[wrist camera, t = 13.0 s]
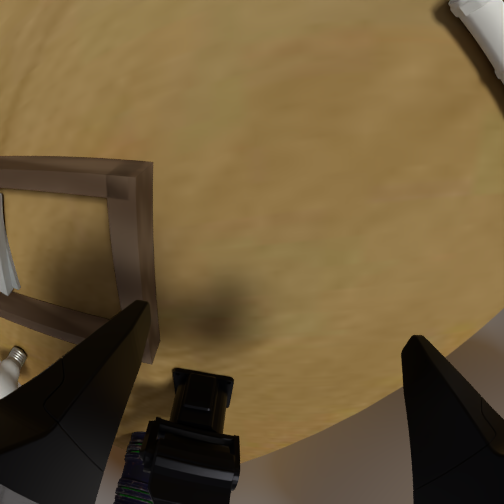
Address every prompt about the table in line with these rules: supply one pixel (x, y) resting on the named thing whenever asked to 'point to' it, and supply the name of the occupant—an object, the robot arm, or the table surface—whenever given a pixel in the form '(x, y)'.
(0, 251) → the offcut top
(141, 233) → the frame
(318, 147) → the table surface
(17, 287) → the offcut bottom
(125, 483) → the dark blue cylinder
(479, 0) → the knuckle duster
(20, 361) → the lightbulb
